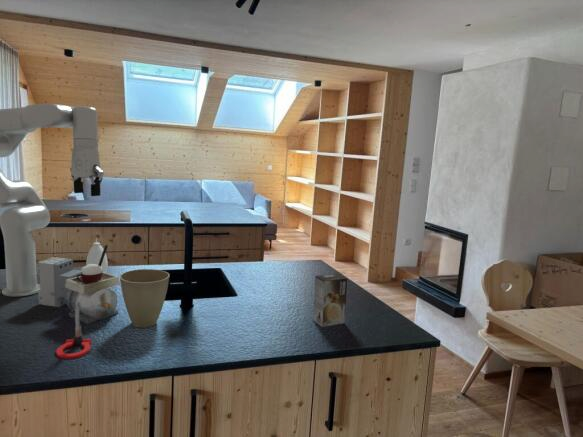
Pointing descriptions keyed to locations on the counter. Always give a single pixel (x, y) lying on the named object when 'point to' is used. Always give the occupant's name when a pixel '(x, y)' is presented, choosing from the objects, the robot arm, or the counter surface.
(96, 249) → the sauce bottle
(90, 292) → the clear storage container
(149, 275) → the plant pot
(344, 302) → the coffee box
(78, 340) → the tow hook
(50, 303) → the circuit breaker
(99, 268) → the cocoa
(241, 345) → the counter surface
